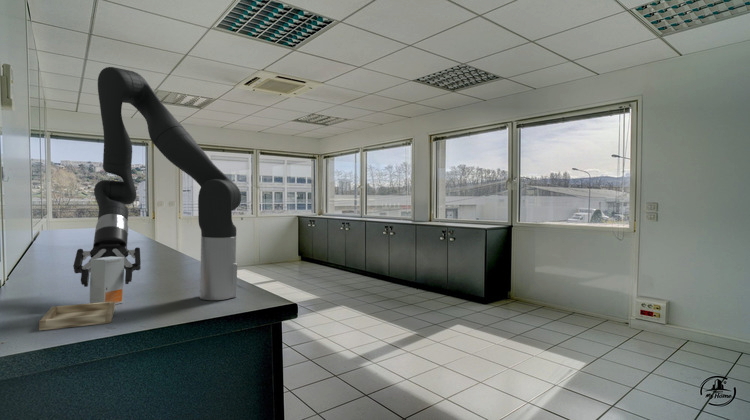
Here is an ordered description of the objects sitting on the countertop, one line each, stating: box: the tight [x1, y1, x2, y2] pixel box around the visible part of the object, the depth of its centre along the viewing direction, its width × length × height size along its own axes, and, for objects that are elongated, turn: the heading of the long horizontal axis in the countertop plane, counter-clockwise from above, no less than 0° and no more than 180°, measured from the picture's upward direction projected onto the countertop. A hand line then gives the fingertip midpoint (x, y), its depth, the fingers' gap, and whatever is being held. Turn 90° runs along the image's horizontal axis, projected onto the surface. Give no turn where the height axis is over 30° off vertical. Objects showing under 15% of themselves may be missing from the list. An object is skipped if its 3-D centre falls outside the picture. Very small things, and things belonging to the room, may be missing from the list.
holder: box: [38, 301, 116, 331], centre depth 86 cm, size 12×12×2 cm
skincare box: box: [89, 256, 125, 306], centre depth 97 cm, size 6×4×12 cm
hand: (106, 283), depth 96 cm, fingers open, 8 cm apart
